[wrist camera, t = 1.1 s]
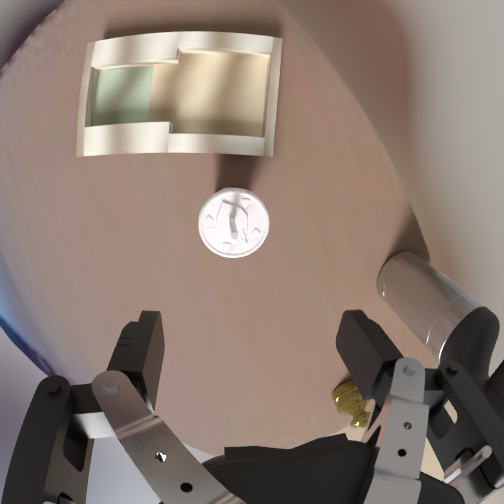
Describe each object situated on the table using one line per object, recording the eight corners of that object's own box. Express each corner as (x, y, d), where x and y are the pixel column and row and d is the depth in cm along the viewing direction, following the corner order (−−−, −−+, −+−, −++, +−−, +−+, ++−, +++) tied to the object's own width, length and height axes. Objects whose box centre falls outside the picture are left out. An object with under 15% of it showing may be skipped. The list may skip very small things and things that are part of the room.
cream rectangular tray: (275, 48, 27) (282, 38, 23) (266, 155, 32) (272, 156, 28) (99, 50, 23) (88, 43, 20) (89, 154, 29) (76, 156, 25)
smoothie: (242, 167, 32) (260, 184, 19) (263, 214, 35) (292, 259, 22) (193, 190, 32) (178, 224, 19) (217, 235, 35) (218, 293, 22)
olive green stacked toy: (354, 399, 53) (371, 432, 44) (326, 402, 51) (340, 438, 42) (368, 376, 50) (388, 411, 41) (339, 379, 49) (357, 417, 40)
